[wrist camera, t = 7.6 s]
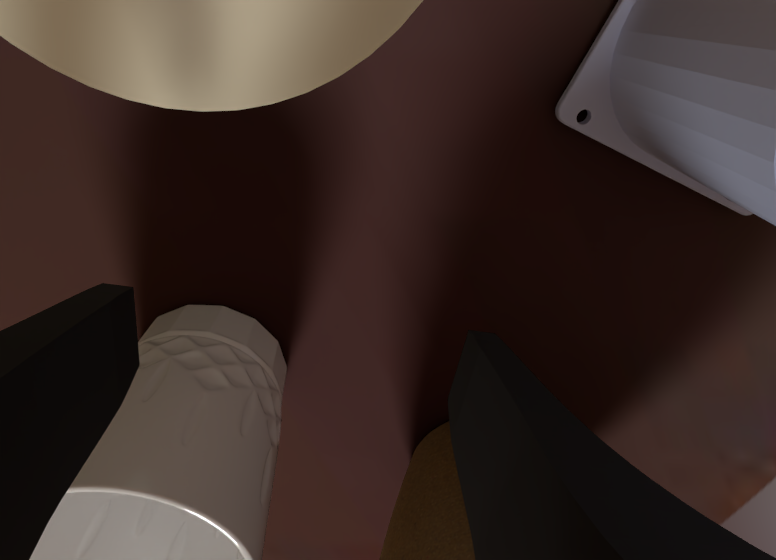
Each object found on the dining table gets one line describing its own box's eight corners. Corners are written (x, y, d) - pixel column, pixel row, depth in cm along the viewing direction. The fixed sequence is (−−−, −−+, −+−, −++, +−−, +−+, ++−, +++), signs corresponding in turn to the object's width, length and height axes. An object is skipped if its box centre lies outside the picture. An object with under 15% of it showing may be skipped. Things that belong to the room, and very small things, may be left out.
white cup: (317, 411, 25) (288, 630, 17) (166, 434, 26) (61, 658, 17) (272, 276, 21) (204, 467, 13) (96, 306, 22) (-85, 510, 13)
